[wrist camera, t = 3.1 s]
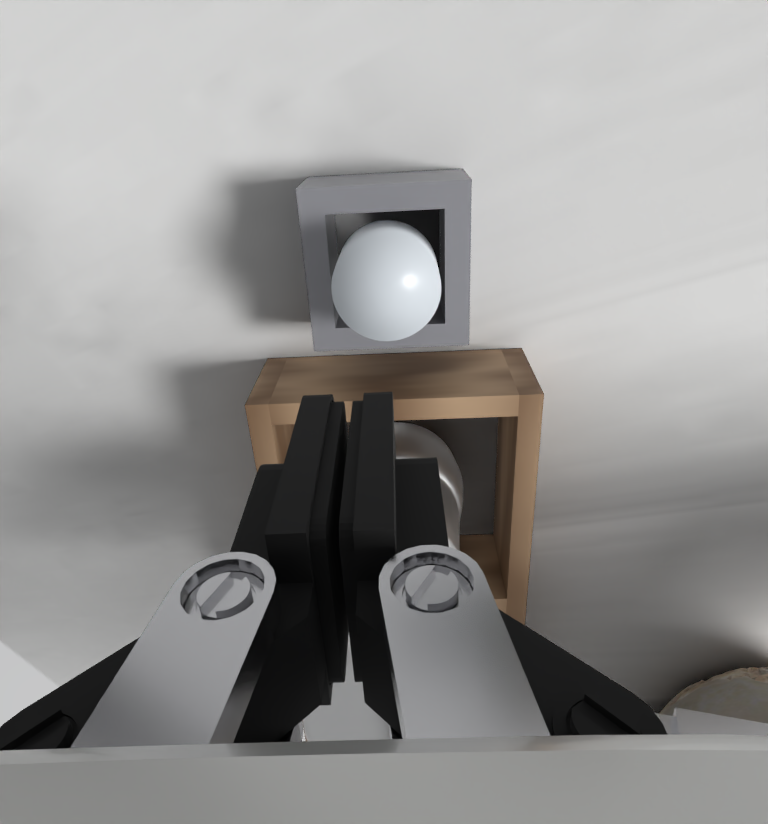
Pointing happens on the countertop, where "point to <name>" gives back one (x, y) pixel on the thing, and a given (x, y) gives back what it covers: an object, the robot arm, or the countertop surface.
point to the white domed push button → (386, 281)
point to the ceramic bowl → (727, 695)
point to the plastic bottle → (347, 703)
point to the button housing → (386, 195)
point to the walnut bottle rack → (419, 400)
